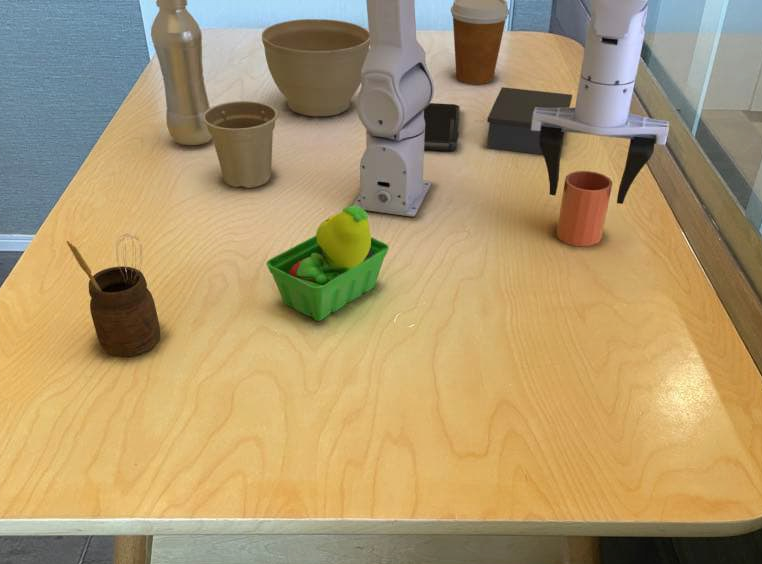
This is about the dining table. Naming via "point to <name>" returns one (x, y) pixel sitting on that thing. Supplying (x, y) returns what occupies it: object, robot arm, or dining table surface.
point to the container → (520, 118)
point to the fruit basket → (330, 265)
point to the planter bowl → (316, 63)
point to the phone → (441, 126)
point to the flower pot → (243, 140)
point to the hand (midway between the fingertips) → (586, 195)
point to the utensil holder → (121, 308)
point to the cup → (583, 208)
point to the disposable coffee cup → (477, 38)
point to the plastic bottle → (181, 71)
